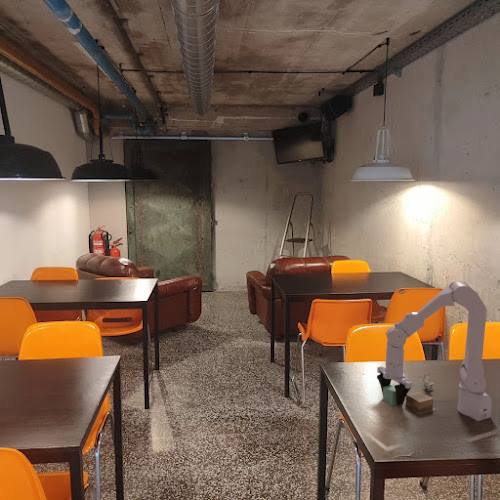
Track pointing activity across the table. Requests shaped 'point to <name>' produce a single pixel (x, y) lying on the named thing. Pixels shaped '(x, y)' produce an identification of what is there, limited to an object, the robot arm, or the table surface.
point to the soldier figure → (427, 383)
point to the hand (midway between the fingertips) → (392, 399)
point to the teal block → (390, 395)
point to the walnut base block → (419, 401)
